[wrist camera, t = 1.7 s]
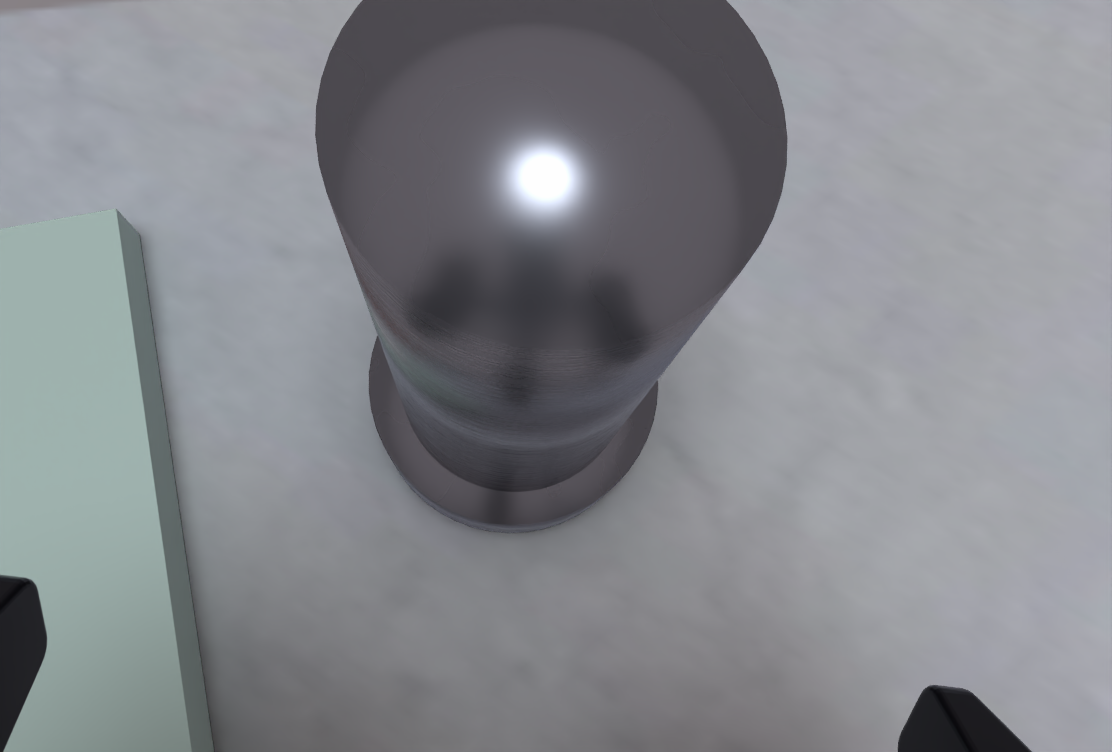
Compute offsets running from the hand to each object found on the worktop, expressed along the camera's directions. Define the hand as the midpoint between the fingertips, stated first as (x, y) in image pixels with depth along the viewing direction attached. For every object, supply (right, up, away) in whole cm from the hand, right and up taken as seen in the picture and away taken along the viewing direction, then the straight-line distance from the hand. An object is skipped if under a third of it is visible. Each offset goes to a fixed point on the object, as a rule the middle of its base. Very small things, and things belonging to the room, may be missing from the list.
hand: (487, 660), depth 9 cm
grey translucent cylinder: (0, +2, +13) cm, 13 cm away
